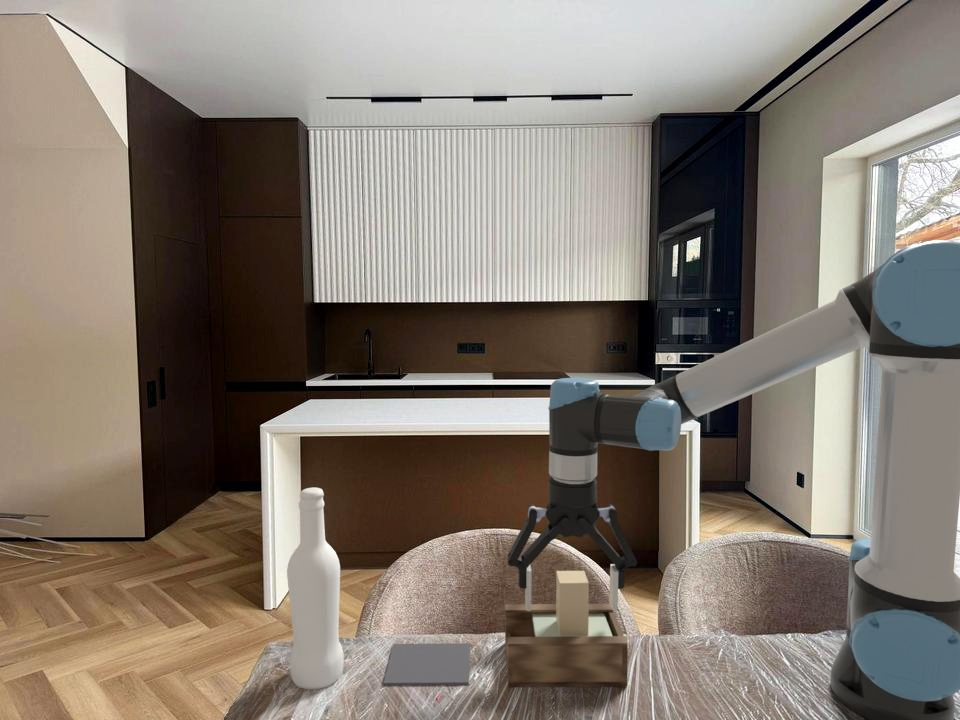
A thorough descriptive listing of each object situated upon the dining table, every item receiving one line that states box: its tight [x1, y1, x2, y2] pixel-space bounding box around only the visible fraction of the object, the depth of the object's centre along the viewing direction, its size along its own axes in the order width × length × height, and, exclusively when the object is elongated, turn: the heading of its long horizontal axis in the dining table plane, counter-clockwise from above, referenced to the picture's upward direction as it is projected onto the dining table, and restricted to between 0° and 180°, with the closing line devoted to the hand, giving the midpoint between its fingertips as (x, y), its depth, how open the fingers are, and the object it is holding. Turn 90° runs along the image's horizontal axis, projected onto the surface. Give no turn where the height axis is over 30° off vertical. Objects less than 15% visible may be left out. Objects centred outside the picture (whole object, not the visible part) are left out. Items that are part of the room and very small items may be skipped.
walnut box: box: [504, 603, 629, 688], centre depth 102 cm, size 18×12×7 cm
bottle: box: [286, 487, 345, 690], centre depth 98 cm, size 8×8×30 cm
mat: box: [383, 642, 471, 686], centre depth 102 cm, size 13×11×1 cm
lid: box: [532, 570, 612, 637], centre depth 101 cm, size 12×10×10 cm
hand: (570, 607), depth 101 cm, fingers open, 13 cm apart
